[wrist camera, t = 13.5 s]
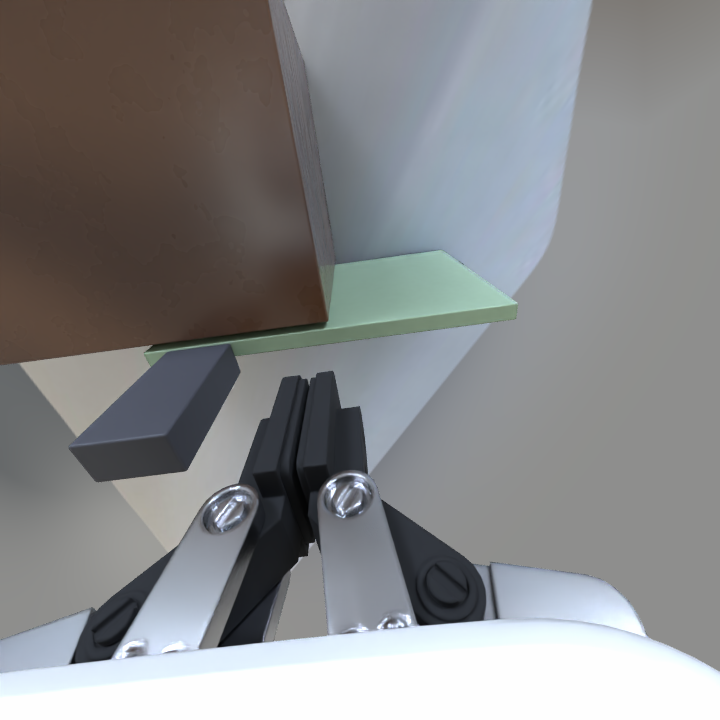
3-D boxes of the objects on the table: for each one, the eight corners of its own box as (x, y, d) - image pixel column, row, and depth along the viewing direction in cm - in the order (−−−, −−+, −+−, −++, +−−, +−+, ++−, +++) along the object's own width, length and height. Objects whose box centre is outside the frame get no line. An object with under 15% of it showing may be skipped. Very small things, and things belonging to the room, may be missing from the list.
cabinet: (22, 104, 20) (-402, 4, 9) (466, 36, 19) (641, -172, 8) (130, 311, 27) (-27, 407, 15) (458, 266, 26) (546, 332, 15)
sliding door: (229, 279, 25) (28, 450, 9) (442, 249, 25) (622, 375, 9) (236, 298, 26) (61, 487, 10) (442, 270, 26) (606, 420, 10)
